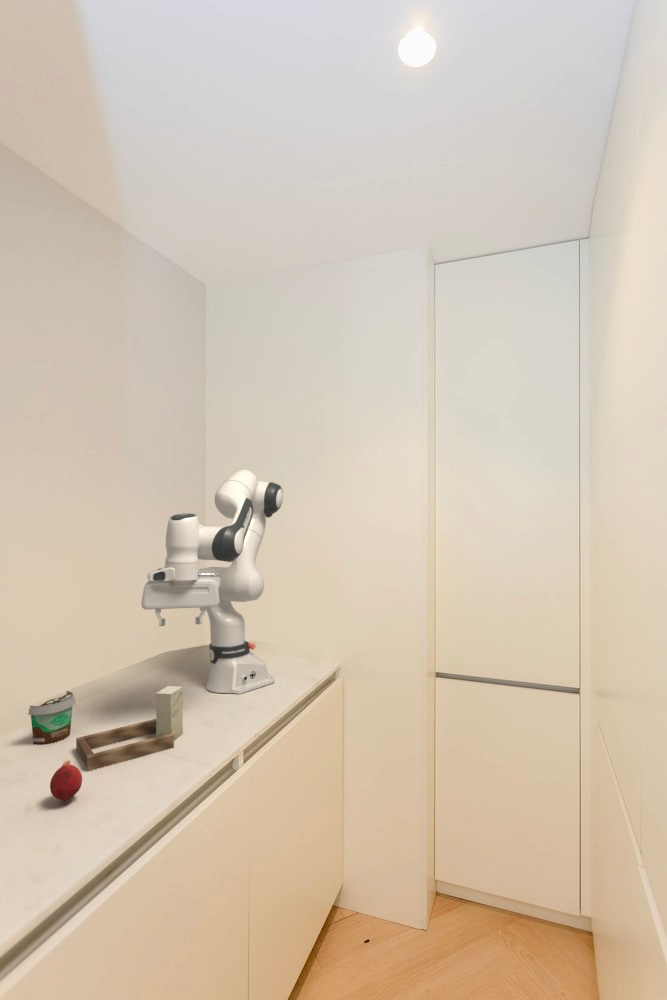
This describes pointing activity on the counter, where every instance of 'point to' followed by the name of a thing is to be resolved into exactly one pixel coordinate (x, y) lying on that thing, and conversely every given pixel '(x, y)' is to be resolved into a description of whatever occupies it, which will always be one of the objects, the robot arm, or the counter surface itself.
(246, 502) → the robot arm
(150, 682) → the counter surface
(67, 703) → the food container
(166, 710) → the skincare box
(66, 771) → the red pomegranate
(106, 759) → the u rest
